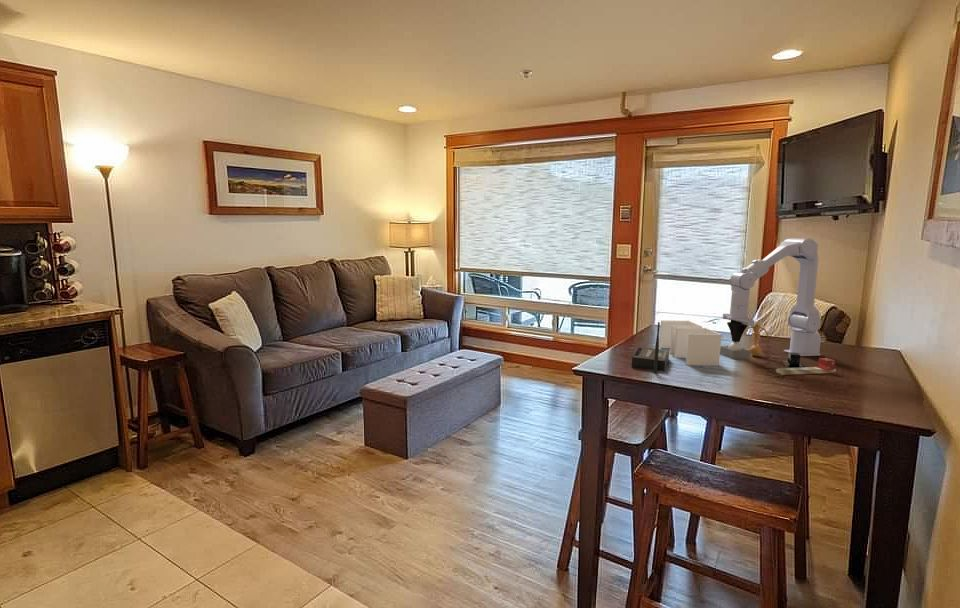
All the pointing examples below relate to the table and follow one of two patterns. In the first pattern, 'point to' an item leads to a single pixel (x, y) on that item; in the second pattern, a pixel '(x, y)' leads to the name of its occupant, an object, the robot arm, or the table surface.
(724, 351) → the housing
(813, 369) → the space track
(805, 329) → the robot arm
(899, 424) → the table surface
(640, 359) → the wireless controller
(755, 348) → the figurine
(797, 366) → the black piece
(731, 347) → the white glossy sphere
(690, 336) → the white brackets
